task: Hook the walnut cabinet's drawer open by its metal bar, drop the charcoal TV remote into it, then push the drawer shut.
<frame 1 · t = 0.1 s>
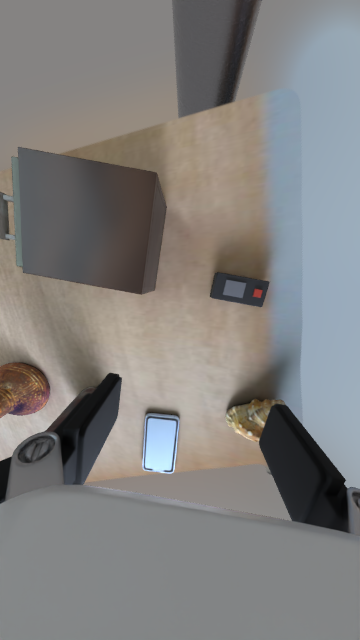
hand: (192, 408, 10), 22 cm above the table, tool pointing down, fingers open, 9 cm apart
drawer: (68, 229, 25), point 5 cm above the table, slide at 0.5 cm
bell: (25, 385, 37), on the table
cabinet: (115, 242, 29), on the table
remote: (235, 289, 30), on the table
seashell: (249, 406, 36), on the table
smartphone: (160, 441, 39), on the table
candle: (98, 398, 37), on the table
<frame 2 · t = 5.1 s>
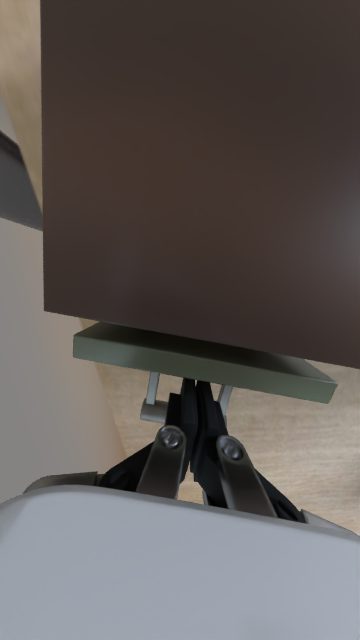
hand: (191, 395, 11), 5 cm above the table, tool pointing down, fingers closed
drawer: (211, 285, 11), point 5 cm above the table, slide at 1.1 cm, touching gripper
cabinet: (218, 211, 14), on the table
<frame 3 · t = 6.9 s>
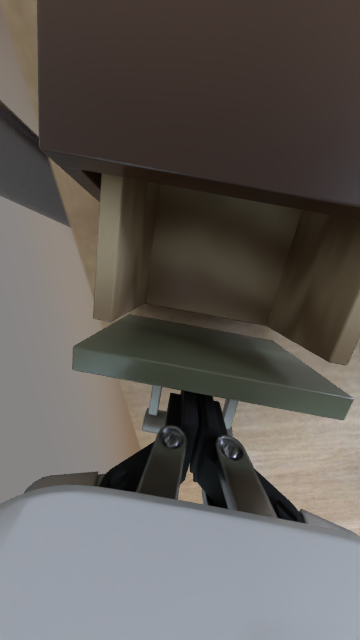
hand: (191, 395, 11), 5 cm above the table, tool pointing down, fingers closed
drawer: (216, 292, 10), point 5 cm above the table, slide at 6.5 cm
cabinet: (241, 131, 12), on the table
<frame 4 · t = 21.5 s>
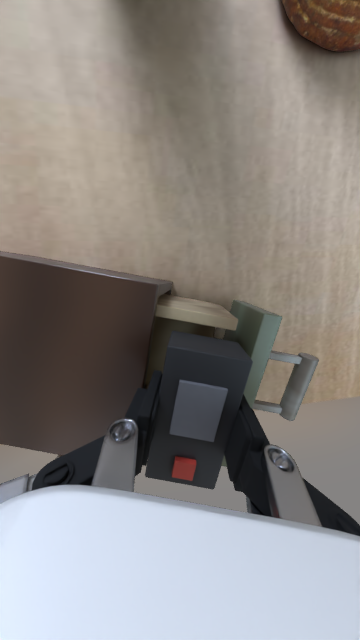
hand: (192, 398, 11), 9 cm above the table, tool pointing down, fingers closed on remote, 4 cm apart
drawer: (191, 364, 15), point 5 cm above the table, slide at 6.5 cm
cabinet: (97, 328, 20), on the table
remote: (192, 394, 12), point 8 cm above the table, touching gripper
when the fingers open (10 cm above the table, at t = 28.7 s): remote drops 8 cm, resting on drawer.
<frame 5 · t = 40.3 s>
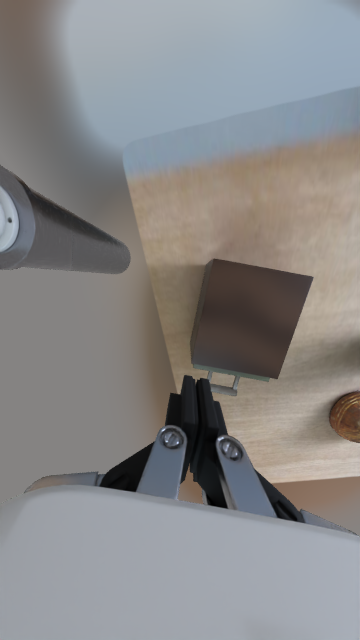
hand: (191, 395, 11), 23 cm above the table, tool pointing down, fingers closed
drawer: (232, 341, 30), point 5 cm above the table, slide at 0.0 cm, touching cabinet, remote
bell: (355, 412, 37), on the table
cabinet: (231, 311, 33), on the table
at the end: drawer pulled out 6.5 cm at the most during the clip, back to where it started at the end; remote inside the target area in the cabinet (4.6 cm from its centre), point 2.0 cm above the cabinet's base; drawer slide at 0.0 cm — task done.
